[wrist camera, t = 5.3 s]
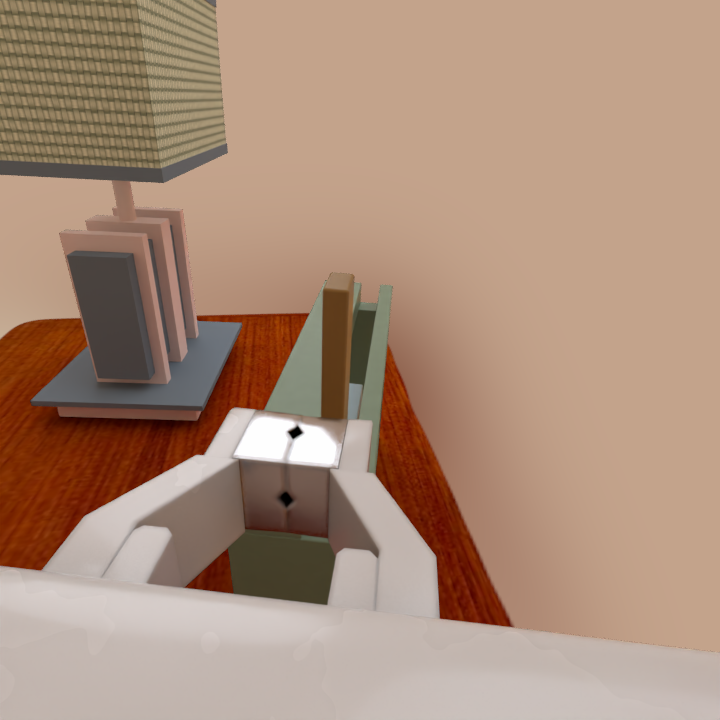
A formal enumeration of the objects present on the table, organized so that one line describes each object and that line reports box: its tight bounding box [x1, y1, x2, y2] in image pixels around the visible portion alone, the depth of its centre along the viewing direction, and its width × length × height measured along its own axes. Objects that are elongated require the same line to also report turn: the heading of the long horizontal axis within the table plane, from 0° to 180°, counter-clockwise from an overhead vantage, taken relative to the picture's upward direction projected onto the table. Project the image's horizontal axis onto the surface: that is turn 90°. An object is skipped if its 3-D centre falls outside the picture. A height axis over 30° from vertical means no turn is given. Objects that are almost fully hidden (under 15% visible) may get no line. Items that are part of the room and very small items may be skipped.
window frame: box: [228, 280, 393, 605], centre depth 29 cm, size 5×22×14 cm, turn 175°
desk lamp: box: [0, 0, 242, 421], centre depth 40 cm, size 18×14×33 cm
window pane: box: [321, 273, 363, 420], centre depth 22 cm, size 1×9×19 cm, turn 175°
